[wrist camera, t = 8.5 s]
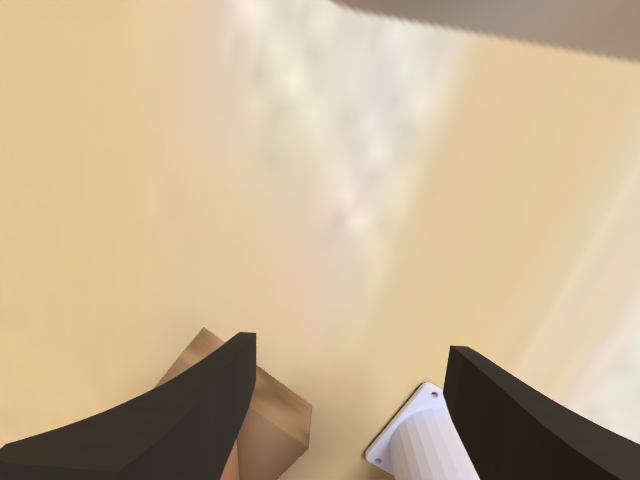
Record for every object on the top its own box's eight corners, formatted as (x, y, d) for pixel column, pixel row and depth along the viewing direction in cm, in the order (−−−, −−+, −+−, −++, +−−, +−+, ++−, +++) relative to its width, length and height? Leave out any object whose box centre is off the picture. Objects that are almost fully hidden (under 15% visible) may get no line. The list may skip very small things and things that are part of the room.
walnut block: (312, 401, 23) (308, 447, 19) (237, 479, 25) (220, 535, 21) (206, 324, 22) (178, 357, 18) (136, 412, 24) (98, 458, 20)
